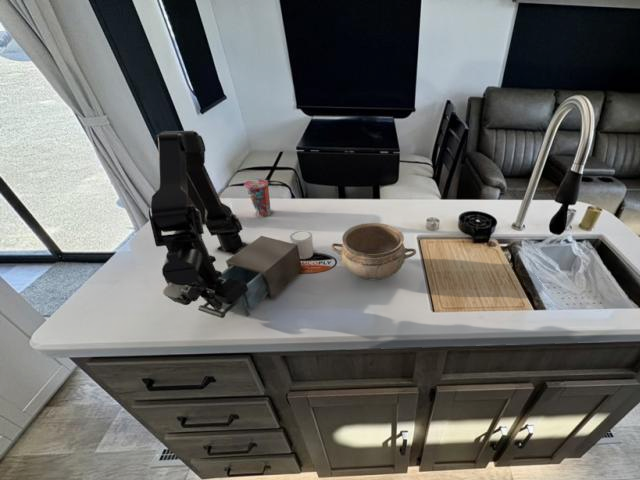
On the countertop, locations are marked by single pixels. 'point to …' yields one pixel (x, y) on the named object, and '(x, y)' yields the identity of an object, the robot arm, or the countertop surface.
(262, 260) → the cabinet
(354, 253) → the cooking pot
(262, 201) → the cup
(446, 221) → the countertop surface
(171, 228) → the robot arm
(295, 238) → the white short cylinder
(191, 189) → the wine bottle
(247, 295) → the drawer
